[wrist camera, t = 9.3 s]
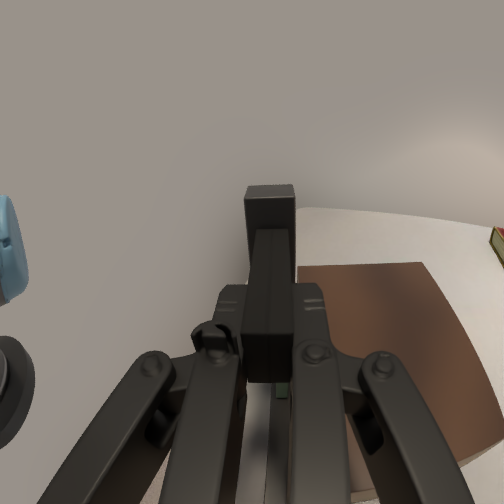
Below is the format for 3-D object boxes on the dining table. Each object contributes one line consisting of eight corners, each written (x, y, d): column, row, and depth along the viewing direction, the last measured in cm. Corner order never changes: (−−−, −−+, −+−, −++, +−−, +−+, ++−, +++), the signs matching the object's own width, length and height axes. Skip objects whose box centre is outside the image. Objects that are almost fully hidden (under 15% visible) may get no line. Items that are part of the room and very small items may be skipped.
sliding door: (262, 397, 22) (243, 198, 12) (267, 327, 29) (256, 159, 20) (289, 397, 21) (295, 196, 12) (289, 327, 29) (287, 157, 20)
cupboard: (263, 508, 13) (254, 497, 8) (273, 342, 28) (270, 266, 23) (436, 480, 11) (509, 434, 6) (397, 334, 27) (421, 261, 22)
